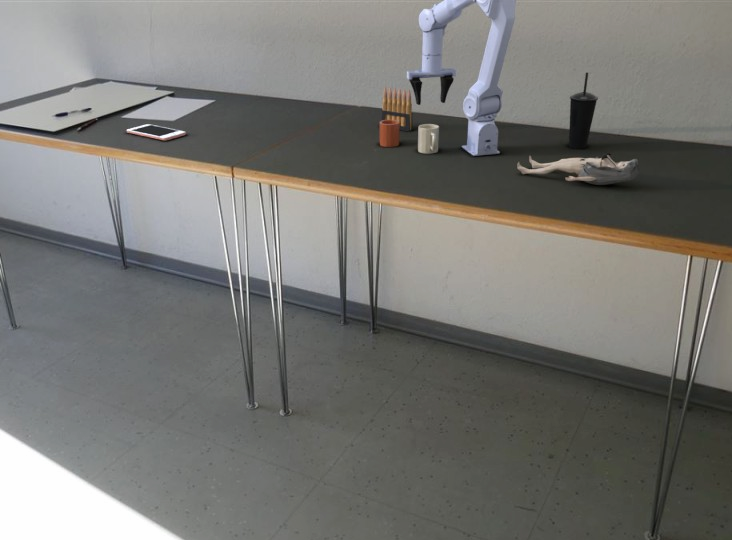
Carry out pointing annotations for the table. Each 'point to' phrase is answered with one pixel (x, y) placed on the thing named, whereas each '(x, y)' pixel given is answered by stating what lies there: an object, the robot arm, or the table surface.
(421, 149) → the cream cup
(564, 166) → the anime figure
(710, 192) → the table surface
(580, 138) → the drinking cup
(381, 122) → the terracotta cup
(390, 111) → the ammunition clip
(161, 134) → the cell phone
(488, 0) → the robot arm
